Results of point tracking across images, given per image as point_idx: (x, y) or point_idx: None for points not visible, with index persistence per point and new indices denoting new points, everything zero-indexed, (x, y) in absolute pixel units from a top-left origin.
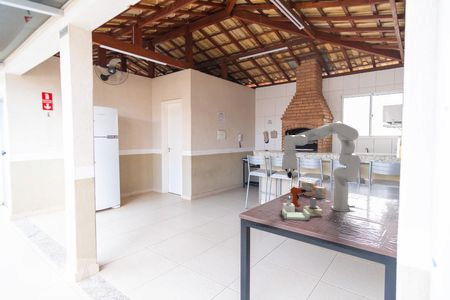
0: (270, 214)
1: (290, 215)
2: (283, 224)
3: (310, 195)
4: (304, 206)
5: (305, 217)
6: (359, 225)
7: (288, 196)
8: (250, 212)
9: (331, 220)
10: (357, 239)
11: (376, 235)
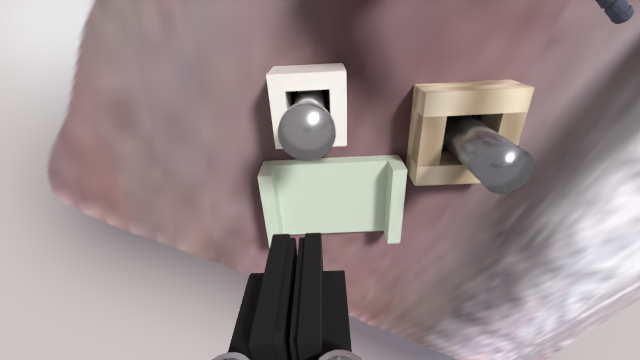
0: (198, 173)
1: (303, 213)
2: None
3: None
4: (424, 111)
5: (374, 230)
6: (583, 253)
7: (303, 134)
8: (76, 155)
9: (498, 216)
10: (475, 343)
11: (562, 318)
